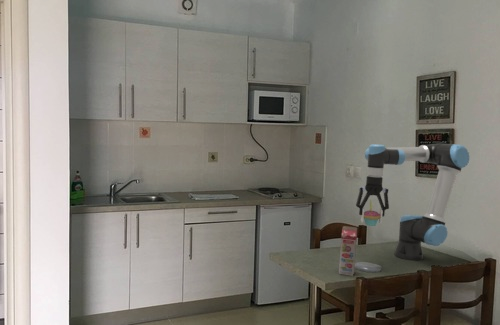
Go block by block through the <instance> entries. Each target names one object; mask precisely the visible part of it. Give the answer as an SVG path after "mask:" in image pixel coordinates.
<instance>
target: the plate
mask: <svg viewBox="0 0 500 325" xmlns="http://www.w3.org/2000/svg"><path fill="white" fill-rule="evenodd" d="M355 269H356V270H357V271H360V272H364V273H380V272H382V266H381V265H380V264H377V263H373V262H367V261H357V262H355V268H354V270H355Z"/></svg>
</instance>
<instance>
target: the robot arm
mask: <svg viewBox="0 0 500 325" xmlns="http://www.w3.org/2000/svg"><path fill="white" fill-rule="evenodd" d="M364 152H365V153H364V159H366V161H367V169H366V180H365V182H366V183H365V186H359V187H358V188H359V189H358V190H359V192H358V196H357V199H356V203H355V206H356V207H357V208H359V211H358V213H359V215H360V222H361V223H364V222H365V220H364V212H365V208H364V207H365V205H366V203H367V202H368V200H369V198H370V196H376V197H377V201H378V203H379V205H380V208H381V209H380V208H379V212H378V213H379V214H380V215H381V218H380V219H378V223H379V224H380V225H381V224H383V222H382V221H383V217H385V214H386V213H385V211H386V210H389V209H390V204H389V203H390V202H389V195H388V193H389V188H386V187H385V188H384V187H383V180H384V179H383V178H384V177H383V176H384V165H393V166H394V165H395V166H398V165H403V164H404V163H405V162H420V163H421V164H422V163H423V164H424V163H426V164H432V165H433V164H434V165H436V166H437V167H436V168H437V169H438V172H437V176H436V180H435V183H434V187H433V190H432V194H431V197H430V200H429V204H428V206H427V210H426V213H425V214H423V215H420V214H419V215H418V214H417V215H416V214H415V215H414V214H404V215H401V216H400V221H399V230H398V231H399V235H398V241H397V245H396V247H395V248H394V254H393V255H394V256H395V257H397V258H400V259H404V260H409V261H420V260H421V261H422V260H423V259H424V251H423V249H422V248H423V247H422V244H423V243H424V244H426V245H429V246H433V247H434V246H435V247H437V246H440V245H441V244H443V243H444V242H445V240H447V237H448V233H449V232H448V228H447V227H446V221H445V213H446V210H447V208H448V204H449V201H450V197H451V193H452V190H453V188H454V184H455V180H456V177H457V175H459V173H461V170H462V169H463V168H465V167H466V166H468V164H469V162H470V152H469V151H468V149H467V147H466V146H465V145H461V144H457V143H440V142H439V143H431V144H421V145H419V146H410V147H409V146H408V147H407V146H405V147H403V146H402V147H401V146H399V147H397V146H396V147H386V146H385V145H384V144H370V145H369V147H368V148H367V149H366V150H365V151H364ZM365 191H366V193H365V195H364V197H363V194H364V192H365ZM381 192H382V193H383V198H384V199H382V196H381ZM362 197H363V199H362ZM383 200H384V202H383Z"/></svg>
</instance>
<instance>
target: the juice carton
mask: <svg viewBox="0 0 500 325" xmlns="http://www.w3.org/2000/svg"><path fill="white" fill-rule="evenodd" d="M357 237H358V227H353V226H347V225H343V226H342V230H341V238H340V253H339V264H338V265H339V266H338V274H339V275H344V276H345V275H346V276H351V277H354V275H353V274H355V263H356V252H357V241H358V238H357Z"/></svg>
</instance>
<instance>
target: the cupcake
mask: <svg viewBox="0 0 500 325" xmlns="http://www.w3.org/2000/svg"><path fill="white" fill-rule="evenodd" d="M379 213H380V212H378V211H375V210H372V201H371V199H370V200H369V210H365V211H364V222H365V225H366V226H369V227H375V226H377V223H378V222H379V219H380V218H381V215H380V214H379Z"/></svg>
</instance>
